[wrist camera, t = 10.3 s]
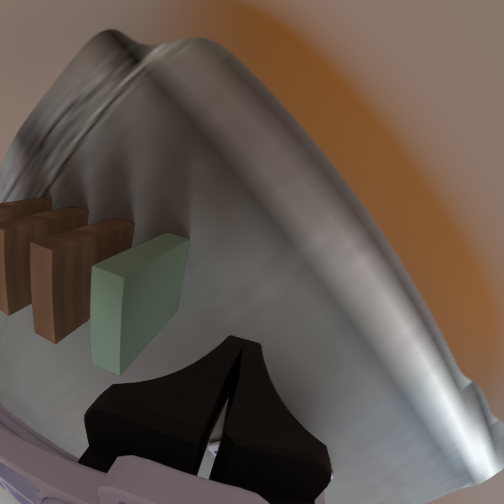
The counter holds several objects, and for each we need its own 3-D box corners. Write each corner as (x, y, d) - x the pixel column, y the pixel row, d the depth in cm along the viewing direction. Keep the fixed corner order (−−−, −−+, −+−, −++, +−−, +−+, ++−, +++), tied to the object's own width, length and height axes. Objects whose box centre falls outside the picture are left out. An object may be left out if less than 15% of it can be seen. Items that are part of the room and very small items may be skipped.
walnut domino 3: (134, 223, 19) (52, 250, 11) (126, 292, 20) (55, 344, 12) (115, 218, 19) (30, 241, 11) (108, 285, 20) (34, 332, 13)
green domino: (190, 238, 19) (124, 277, 11) (177, 310, 20) (119, 376, 12) (166, 232, 19) (91, 265, 11) (156, 302, 20) (91, 363, 12)
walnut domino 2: (88, 211, 19) (3, 230, 11) (83, 276, 20) (8, 315, 13) (73, 206, 19) (-11, 223, 12) (68, 270, 21) (-6, 305, 13)
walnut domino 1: (52, 200, 19) (-29, 215, 12) (48, 261, 21) (-24, 292, 13) (39, 197, 20) (-38, 210, 12) (36, 256, 21) (-35, 284, 13)
